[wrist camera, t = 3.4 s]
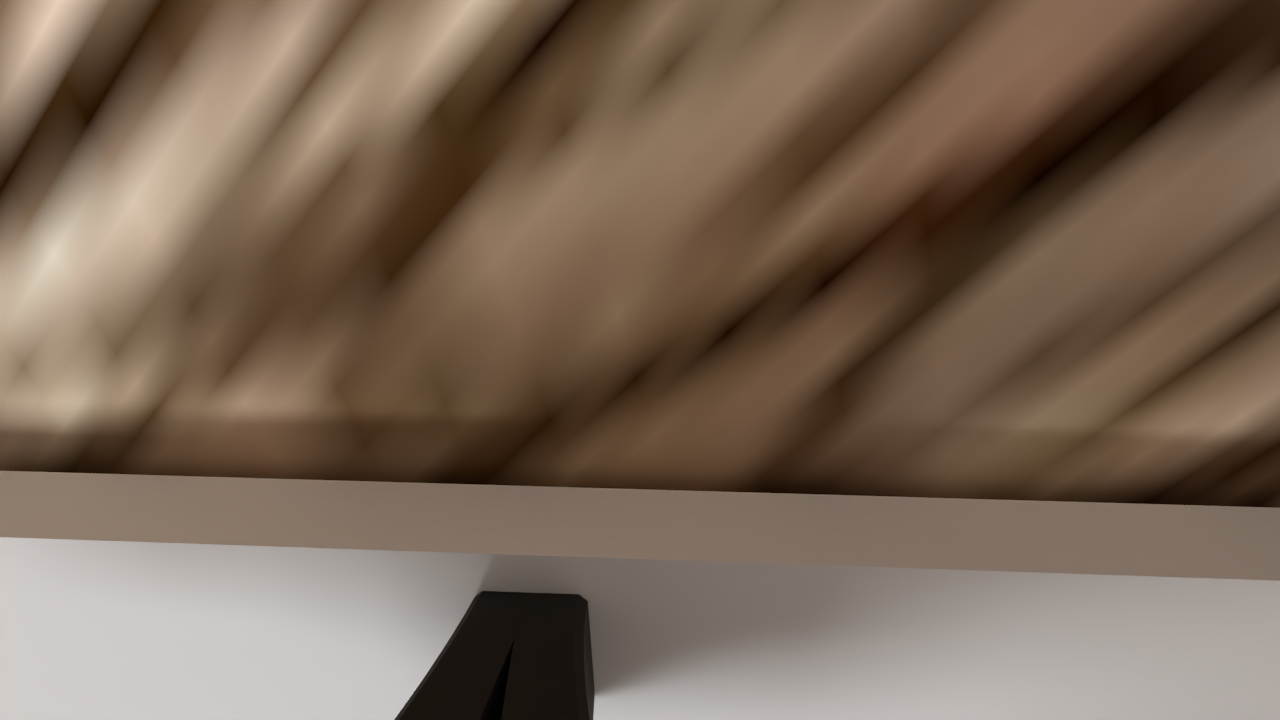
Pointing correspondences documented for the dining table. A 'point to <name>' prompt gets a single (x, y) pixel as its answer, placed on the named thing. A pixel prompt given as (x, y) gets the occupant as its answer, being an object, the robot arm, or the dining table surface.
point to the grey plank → (630, 600)
